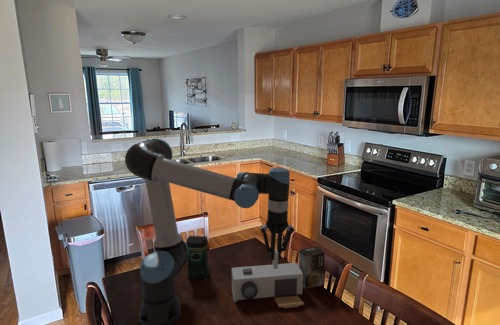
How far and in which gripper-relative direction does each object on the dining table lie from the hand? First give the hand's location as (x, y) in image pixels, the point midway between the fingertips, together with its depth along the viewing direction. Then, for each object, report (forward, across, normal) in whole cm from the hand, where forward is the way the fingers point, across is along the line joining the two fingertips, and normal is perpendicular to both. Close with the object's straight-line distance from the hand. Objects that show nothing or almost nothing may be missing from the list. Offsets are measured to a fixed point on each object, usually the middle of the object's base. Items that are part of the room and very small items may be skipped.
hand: (275, 267), depth 129 cm
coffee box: (+15, +18, +10) cm, 26 cm away
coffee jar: (+17, -30, +25) cm, 42 cm away
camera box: (+15, -2, +6) cm, 17 cm away
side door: (+14, +6, +2) cm, 15 cm away
